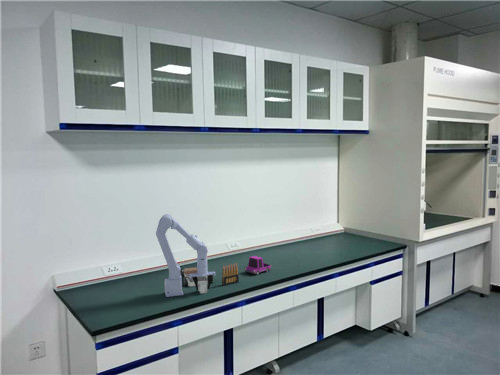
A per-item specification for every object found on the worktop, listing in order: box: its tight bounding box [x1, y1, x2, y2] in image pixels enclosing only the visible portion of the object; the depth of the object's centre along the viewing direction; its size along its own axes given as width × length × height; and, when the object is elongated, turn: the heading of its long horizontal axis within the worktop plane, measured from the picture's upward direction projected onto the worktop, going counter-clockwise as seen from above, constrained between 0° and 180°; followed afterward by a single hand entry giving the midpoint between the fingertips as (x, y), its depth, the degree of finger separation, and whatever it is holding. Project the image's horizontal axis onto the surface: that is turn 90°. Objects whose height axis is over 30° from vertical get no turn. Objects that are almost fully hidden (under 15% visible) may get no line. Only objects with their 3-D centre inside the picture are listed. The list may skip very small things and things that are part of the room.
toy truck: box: [244, 255, 272, 276], centre depth 264 cm, size 11×16×10 cm
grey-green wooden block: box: [198, 282, 208, 294], centre depth 229 cm, size 4×5×5 cm
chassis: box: [180, 267, 214, 288], centre depth 250 cm, size 17×24×5 cm
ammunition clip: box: [221, 262, 240, 287], centre depth 241 cm, size 11×2×12 cm, turn 125°
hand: (202, 289), depth 229 cm, fingers open, 6 cm apart
